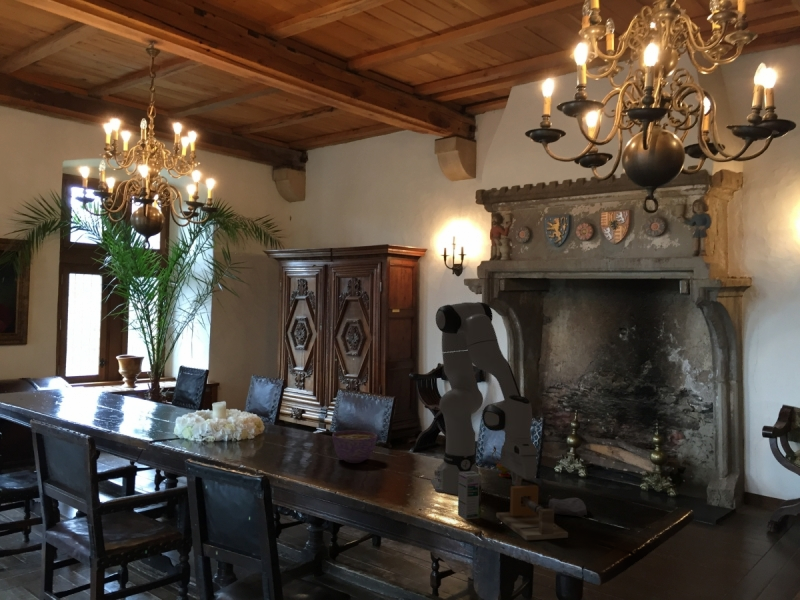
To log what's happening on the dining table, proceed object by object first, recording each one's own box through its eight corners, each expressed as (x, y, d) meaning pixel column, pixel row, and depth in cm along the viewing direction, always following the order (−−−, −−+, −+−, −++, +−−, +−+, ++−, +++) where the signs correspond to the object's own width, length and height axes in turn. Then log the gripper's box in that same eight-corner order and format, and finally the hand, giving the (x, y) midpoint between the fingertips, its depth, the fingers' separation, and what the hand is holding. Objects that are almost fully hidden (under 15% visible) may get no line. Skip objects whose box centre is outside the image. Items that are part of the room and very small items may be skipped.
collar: (509, 513, 215) (510, 486, 215) (534, 512, 217) (535, 485, 217) (512, 515, 213) (513, 488, 213) (537, 514, 215) (538, 486, 216)
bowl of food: (376, 456, 301) (377, 431, 301) (376, 467, 281) (377, 440, 281) (332, 455, 300) (333, 429, 300) (329, 465, 280) (330, 438, 280)
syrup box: (465, 520, 215) (467, 475, 215) (457, 514, 220) (458, 471, 220) (480, 518, 217) (482, 474, 217) (472, 513, 222) (473, 470, 222)
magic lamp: (519, 482, 264) (520, 455, 264) (485, 472, 277) (486, 446, 277) (530, 479, 268) (531, 453, 268) (496, 470, 282) (497, 444, 282)
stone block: (589, 522, 223) (580, 507, 233) (590, 509, 222) (581, 494, 232) (554, 522, 223) (547, 507, 233) (555, 509, 222) (547, 495, 232)
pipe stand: (496, 517, 219) (497, 491, 219) (534, 514, 223) (535, 489, 223) (526, 540, 198) (527, 512, 198) (567, 537, 202) (568, 509, 202)
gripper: (496, 438, 230) (495, 478, 230) (522, 451, 210) (521, 494, 210) (512, 438, 232) (511, 477, 232) (540, 451, 212) (539, 493, 212)
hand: (516, 485), depth 221 cm, fingers closed
